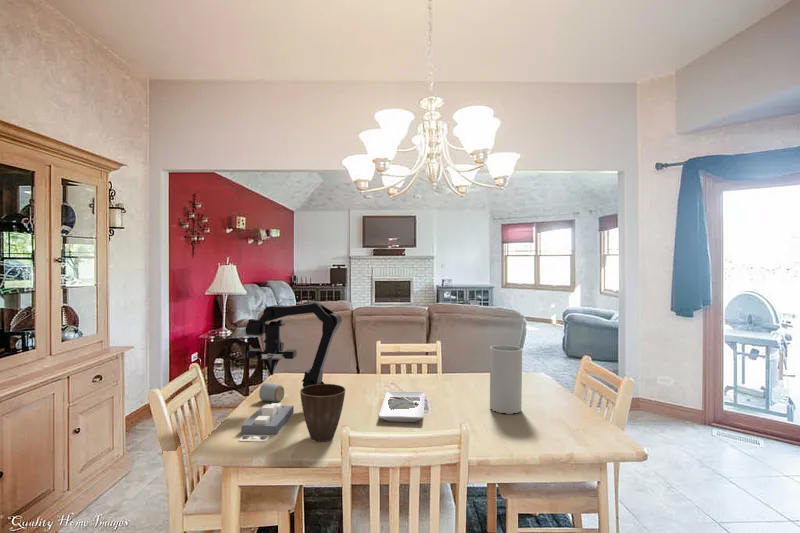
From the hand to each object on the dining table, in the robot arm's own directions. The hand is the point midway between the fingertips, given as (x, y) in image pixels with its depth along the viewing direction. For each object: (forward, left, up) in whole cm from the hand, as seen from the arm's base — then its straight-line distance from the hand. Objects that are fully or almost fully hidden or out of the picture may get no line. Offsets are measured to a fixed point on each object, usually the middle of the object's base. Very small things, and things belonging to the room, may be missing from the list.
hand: (271, 374), depth 170 cm
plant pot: (-27, +29, -13) cm, 42 cm away
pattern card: (-5, +32, -13) cm, 34 cm away
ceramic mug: (+2, -9, -13) cm, 16 cm away
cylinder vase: (-95, -3, -13) cm, 96 cm away
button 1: (-5, +24, -13) cm, 28 cm away
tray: (-54, 0, -14) cm, 55 cm away
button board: (-5, +18, -13) cm, 22 cm away
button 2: (-5, +10, -13) cm, 17 cm away
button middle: (-5, +18, -11) cm, 21 cm away
